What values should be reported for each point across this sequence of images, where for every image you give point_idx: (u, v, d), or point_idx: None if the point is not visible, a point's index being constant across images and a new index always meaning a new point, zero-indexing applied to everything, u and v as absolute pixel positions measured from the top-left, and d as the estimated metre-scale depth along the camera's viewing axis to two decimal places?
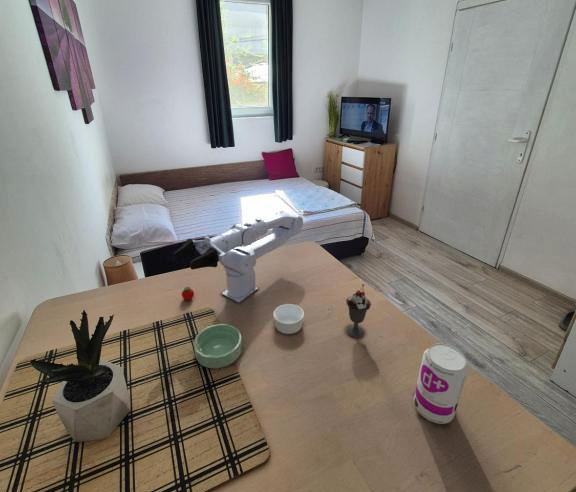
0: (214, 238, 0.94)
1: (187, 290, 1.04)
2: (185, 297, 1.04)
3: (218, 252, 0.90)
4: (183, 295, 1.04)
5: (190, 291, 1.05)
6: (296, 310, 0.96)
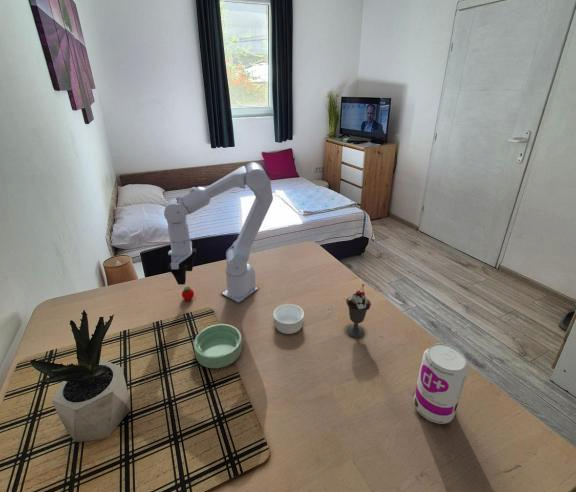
0: None
1: (187, 290, 1.04)
2: (185, 297, 1.04)
3: None
4: (183, 295, 1.04)
5: (190, 291, 1.05)
6: (296, 310, 0.96)
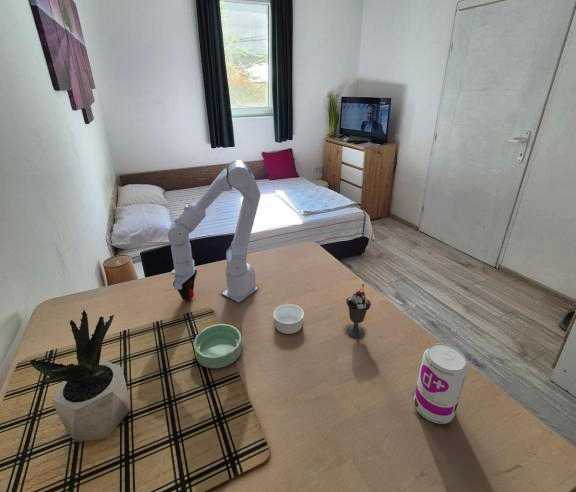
0: None
1: None
2: None
3: None
4: None
5: (190, 291, 1.05)
6: (296, 310, 0.96)
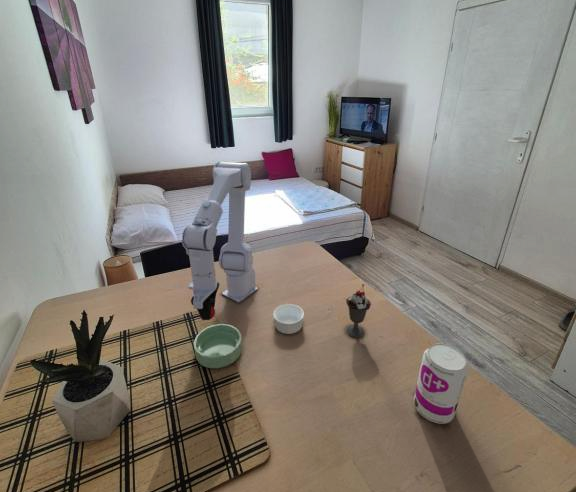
0: None
1: None
2: None
3: None
4: None
5: (211, 309, 0.85)
6: (296, 310, 0.96)
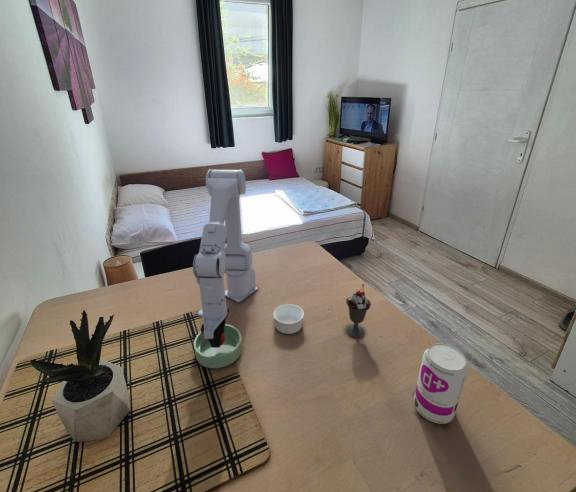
0: None
1: None
2: None
3: None
4: None
5: None
6: (296, 310, 0.96)
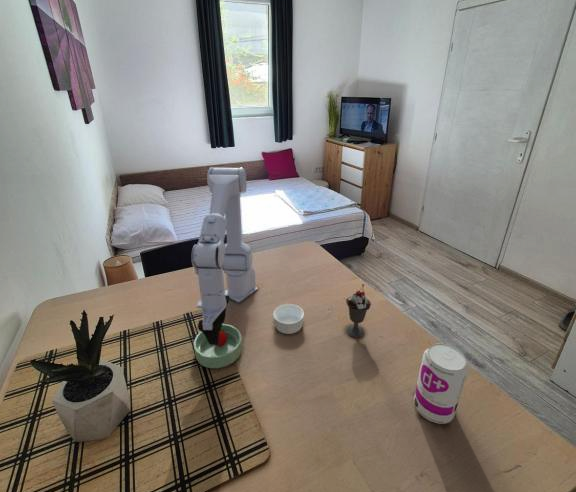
0: None
1: (222, 330, 0.87)
2: None
3: None
4: None
5: (224, 333, 0.87)
6: (296, 310, 0.96)
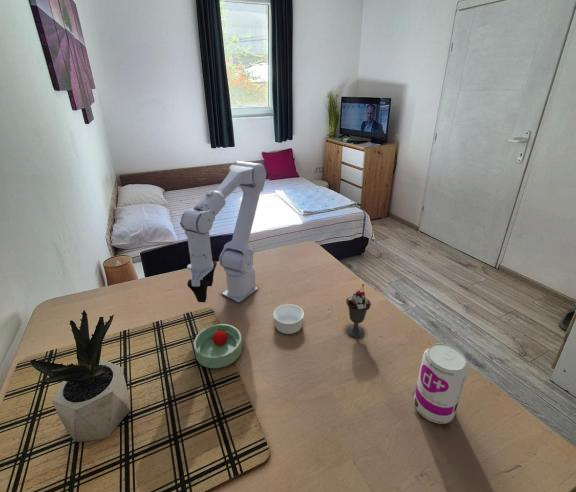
0: None
1: (222, 329, 0.88)
2: (218, 334, 0.86)
3: None
4: (216, 333, 0.86)
5: None
6: (296, 310, 0.96)
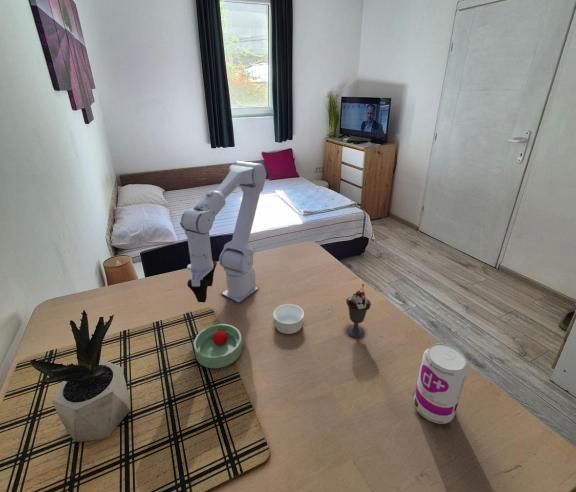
0: None
1: (222, 329, 0.88)
2: (218, 334, 0.86)
3: None
4: (216, 333, 0.86)
5: None
6: (296, 310, 0.96)
